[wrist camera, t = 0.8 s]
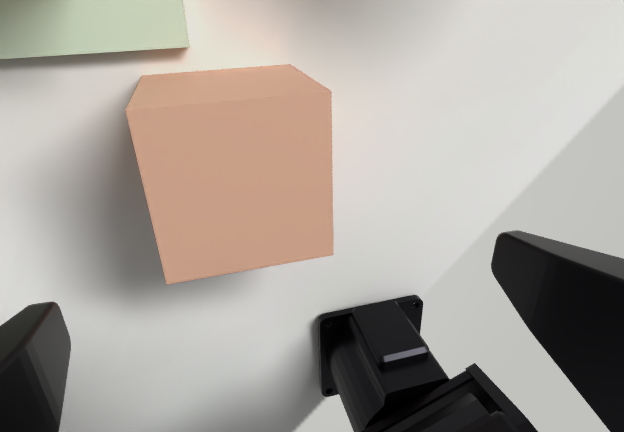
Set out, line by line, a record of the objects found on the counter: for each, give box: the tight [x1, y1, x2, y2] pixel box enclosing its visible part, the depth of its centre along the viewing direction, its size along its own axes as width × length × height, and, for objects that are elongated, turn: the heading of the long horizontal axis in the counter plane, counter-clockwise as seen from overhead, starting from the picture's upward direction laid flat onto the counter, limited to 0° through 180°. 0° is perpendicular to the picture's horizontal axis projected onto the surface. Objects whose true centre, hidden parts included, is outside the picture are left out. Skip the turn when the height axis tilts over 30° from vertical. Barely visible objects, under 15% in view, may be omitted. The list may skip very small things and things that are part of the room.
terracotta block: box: [125, 64, 333, 284], centre depth 17 cm, size 6×6×6 cm
